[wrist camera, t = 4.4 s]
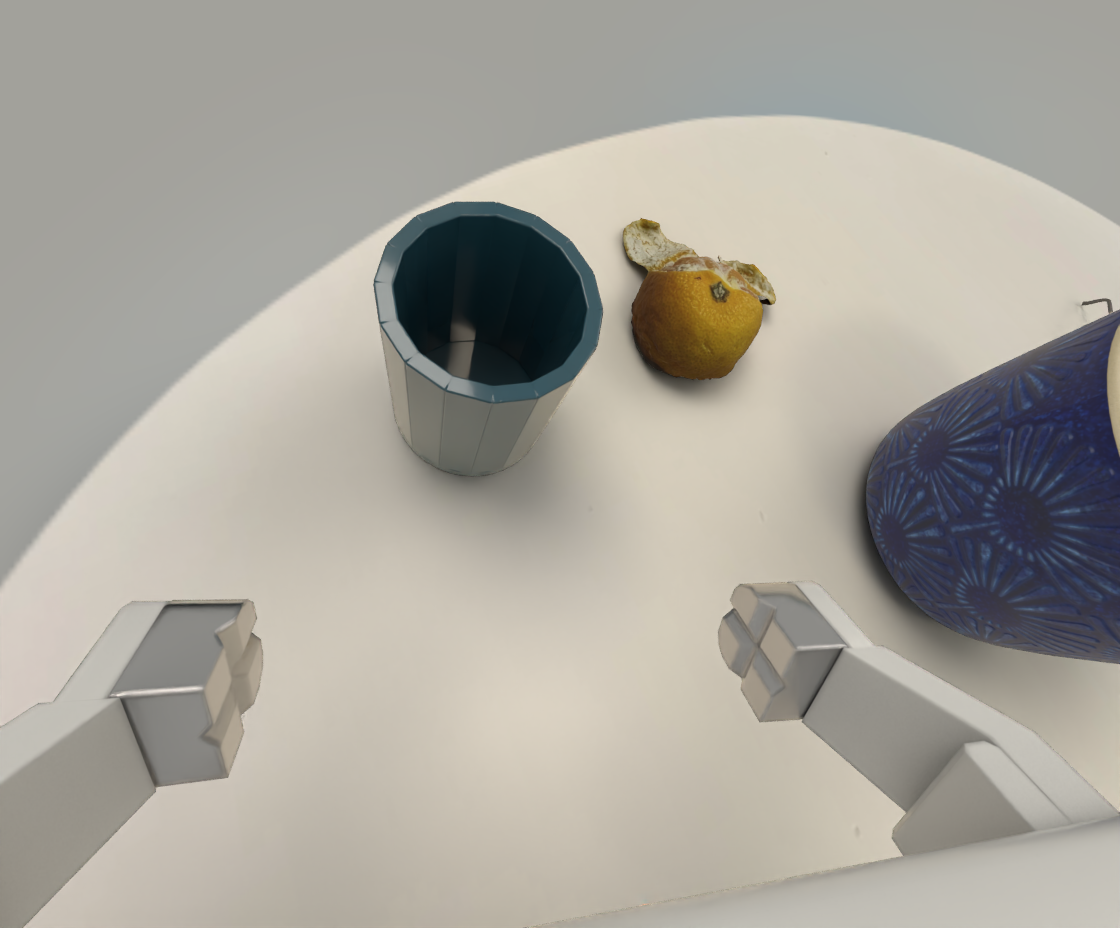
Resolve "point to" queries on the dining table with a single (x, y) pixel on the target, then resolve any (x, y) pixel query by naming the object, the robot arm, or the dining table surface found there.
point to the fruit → (692, 305)
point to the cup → (482, 331)
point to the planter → (1013, 500)
